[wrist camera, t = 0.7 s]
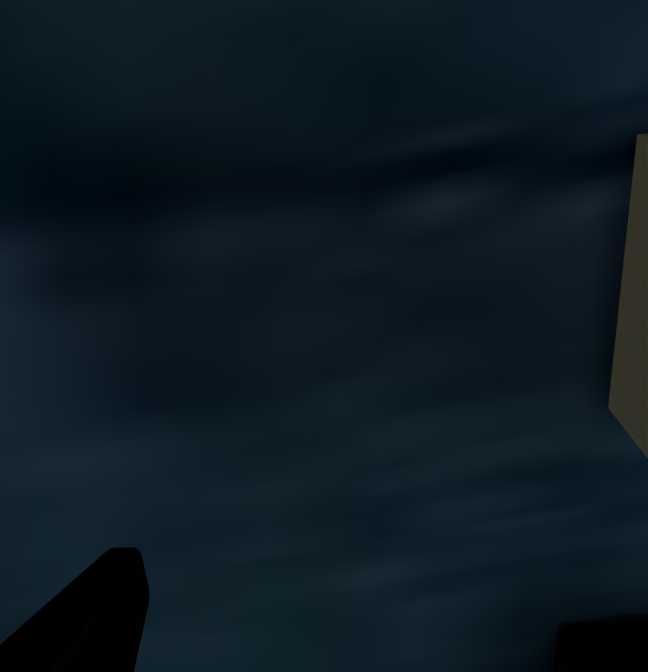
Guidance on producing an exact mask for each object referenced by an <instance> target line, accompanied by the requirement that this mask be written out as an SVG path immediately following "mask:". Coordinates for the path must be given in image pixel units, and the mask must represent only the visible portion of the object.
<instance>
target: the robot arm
mask: <svg viewBox="0 0 648 672" xmlns="http://www.w3.org/2000/svg"><path fill="white" fill-rule="evenodd" d="M148 604H149V585H148V581H147V576H146V572H145V568H144V564H143V559H142V555H141V553H140V551H139V549H137V548H134V547H124V548H111V549H109V550H108V551H106V552H105V553H104V554H103V555H102V556H100V557H99V558H98V559H97V560H96V561H95V562H94V563H92V564H91V565H90V566H89V567H88V568H87V569H86V570H84V571H83V572H82V573H81V574H80V575H79V576H78V577H77V578H75V579H74V580H73V581H72V582H71V583H70V584H69V585H67V586H66V587H65V588H64V589H63V590H62V591H61V592H59V593H58V594H57V595H56V596H55V597H54V598H53V599H52V600H50V601H49V602H48V603H47V604H46V605H45V606H44V607H42V608H41V609H40V610H39V611H38V612H37V613H36V614H35V615H33V616H32V617H31V618H30V619H29V620H28V621H27V622H25V623H24V624H23V625H22V626H21V627H20V628H19V629H17V630H16V631H15V632H14V633H13V634H12V635H11V636H10V637H8V638H7V639H6V640H5V641H4V642H3V643H2V644H0V672H134V668H135V664H136V659H137V654H138V650H139V645H140V641H141V636H142V632H143V627H144V623H145V618H146V614H147V609H148ZM554 672H648V623H642V624H612V625H582V626H567V627H564V628H562V629H561V630H560V631H559V633H558V641H557V648H556V656H555V664H554Z"/></svg>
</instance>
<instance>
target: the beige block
mask: <svg viewBox="0 0 648 672" xmlns="http://www.w3.org/2000/svg"><path fill="white" fill-rule="evenodd" d="M608 408H609V410H610V411H611V412H612V413H613V415H614V416H615V417H616V419H617V420H618V421H619V422H620V424H621V425H622V426H623V427H624V429H625V430H626V431H627V433H628V434H629V435H630V436H631V438H632V439H633V440H634V441H635V443H636V444H637V445H638V447H639V448H640V449H641V450H642V452H643V453H644V454H645V455H646V457H647V458H648V133H646V134H637V141H636V151H635V160H634V170H633V179H632V188H631V198H630V207H629V217H628V226H627V235H626V245H625V254H624V264H623V273H622V282H621V292H620V301H619V311H618V320H617V329H616V339H615V348H614V358H613V367H612V376H611V386H610V395H609V405H608Z"/></svg>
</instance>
